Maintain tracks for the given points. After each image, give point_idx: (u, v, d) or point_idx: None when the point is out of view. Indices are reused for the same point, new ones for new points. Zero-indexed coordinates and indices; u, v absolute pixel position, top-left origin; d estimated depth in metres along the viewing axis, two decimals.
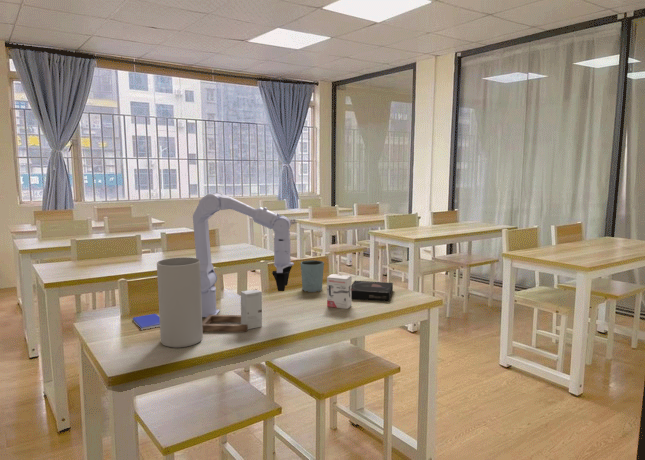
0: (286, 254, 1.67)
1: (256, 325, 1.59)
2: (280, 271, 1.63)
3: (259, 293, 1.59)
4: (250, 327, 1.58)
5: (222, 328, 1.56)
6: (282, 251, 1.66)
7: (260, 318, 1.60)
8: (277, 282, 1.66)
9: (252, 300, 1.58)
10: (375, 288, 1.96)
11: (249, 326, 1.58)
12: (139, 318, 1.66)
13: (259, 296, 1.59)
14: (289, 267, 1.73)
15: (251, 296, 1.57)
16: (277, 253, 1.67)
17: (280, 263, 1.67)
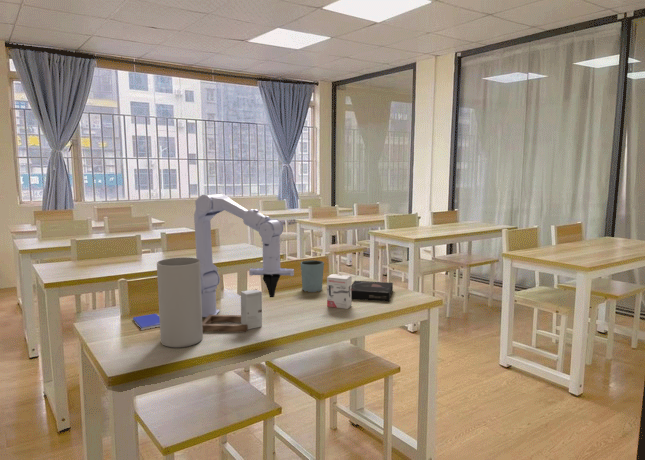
0: (263, 260, 1.56)
1: (256, 325, 1.59)
2: None
3: (259, 293, 1.59)
4: (250, 327, 1.58)
5: (222, 328, 1.56)
6: (267, 257, 1.55)
7: (260, 318, 1.60)
8: None
9: (252, 300, 1.58)
10: (375, 288, 1.96)
11: (249, 326, 1.58)
12: (139, 318, 1.66)
13: (259, 296, 1.59)
14: None
15: (251, 296, 1.57)
16: None
17: None
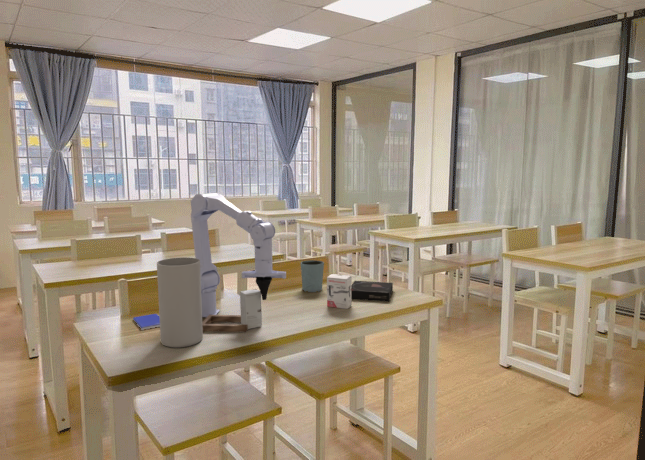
0: (256, 262, 1.56)
1: (256, 324, 1.59)
2: None
3: (258, 293, 1.59)
4: (250, 326, 1.58)
5: (222, 328, 1.56)
6: (259, 259, 1.55)
7: (260, 318, 1.60)
8: None
9: (251, 300, 1.58)
10: (375, 288, 1.96)
11: (249, 326, 1.58)
12: (139, 318, 1.66)
13: (258, 296, 1.59)
14: None
15: (250, 296, 1.57)
16: None
17: None
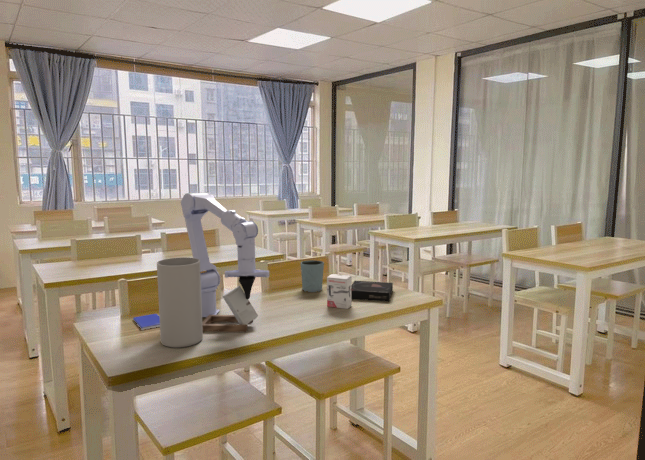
0: (238, 262, 1.56)
1: (251, 317, 1.59)
2: None
3: (238, 288, 1.59)
4: (246, 321, 1.58)
5: (222, 328, 1.56)
6: (241, 259, 1.55)
7: (252, 309, 1.60)
8: None
9: (235, 297, 1.58)
10: (375, 288, 1.96)
11: (246, 321, 1.58)
12: (139, 318, 1.66)
13: (239, 291, 1.59)
14: None
15: (232, 294, 1.58)
16: None
17: None
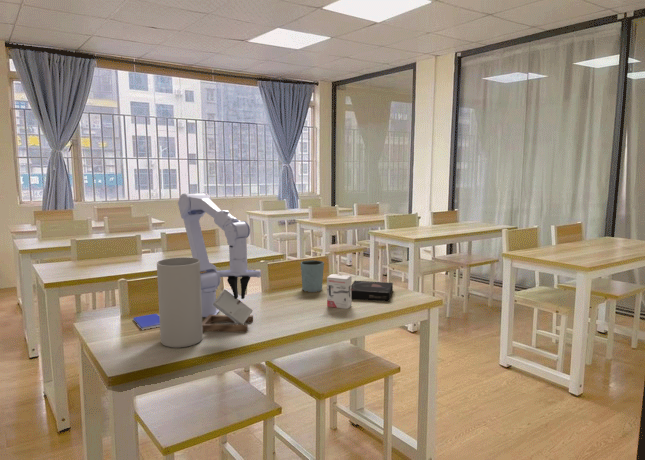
0: (230, 261, 1.56)
1: (246, 313, 1.59)
2: None
3: (224, 291, 1.60)
4: (243, 319, 1.58)
5: (222, 328, 1.56)
6: (232, 258, 1.55)
7: (245, 306, 1.60)
8: None
9: (224, 301, 1.59)
10: (375, 288, 1.96)
11: (242, 319, 1.58)
12: (140, 318, 1.66)
13: (226, 293, 1.60)
14: None
15: (220, 299, 1.58)
16: None
17: None
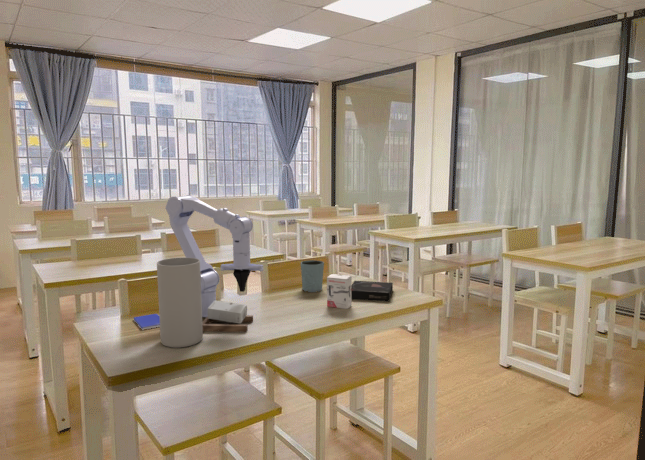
0: (234, 255, 1.63)
1: (242, 307, 1.62)
2: None
3: (214, 301, 1.66)
4: (240, 310, 1.60)
5: (222, 328, 1.56)
6: (238, 253, 1.62)
7: (238, 304, 1.64)
8: None
9: (217, 305, 1.63)
10: (375, 288, 1.96)
11: (239, 311, 1.60)
12: (140, 318, 1.66)
13: (217, 302, 1.65)
14: None
15: (213, 305, 1.63)
16: None
17: None
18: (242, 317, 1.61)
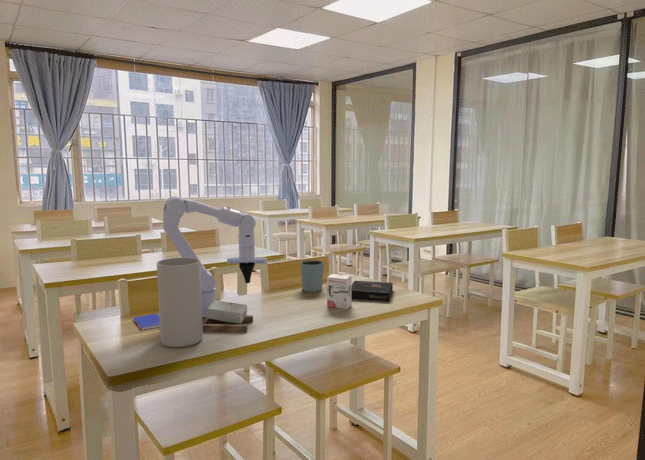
0: (239, 249, 1.74)
1: (242, 307, 1.62)
2: None
3: (214, 301, 1.66)
4: (240, 310, 1.60)
5: (222, 328, 1.56)
6: (249, 247, 1.73)
7: (238, 304, 1.64)
8: None
9: (217, 305, 1.63)
10: (375, 288, 1.96)
11: (239, 311, 1.60)
12: (140, 318, 1.66)
13: (217, 302, 1.65)
14: None
15: (213, 305, 1.63)
16: None
17: None
18: (242, 317, 1.61)
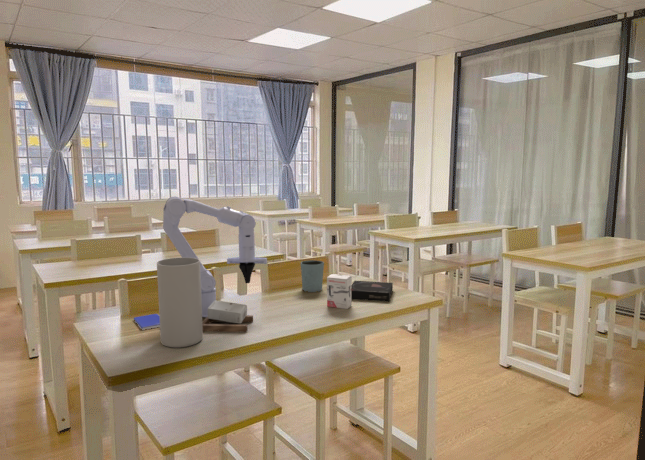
0: (239, 249, 1.74)
1: (242, 307, 1.62)
2: None
3: (214, 301, 1.66)
4: (240, 310, 1.60)
5: (222, 328, 1.56)
6: (249, 247, 1.73)
7: (238, 304, 1.64)
8: None
9: (217, 305, 1.63)
10: (375, 288, 1.96)
11: (239, 311, 1.60)
12: (140, 318, 1.66)
13: (217, 302, 1.65)
14: None
15: (213, 305, 1.63)
16: None
17: None
18: (242, 317, 1.61)
